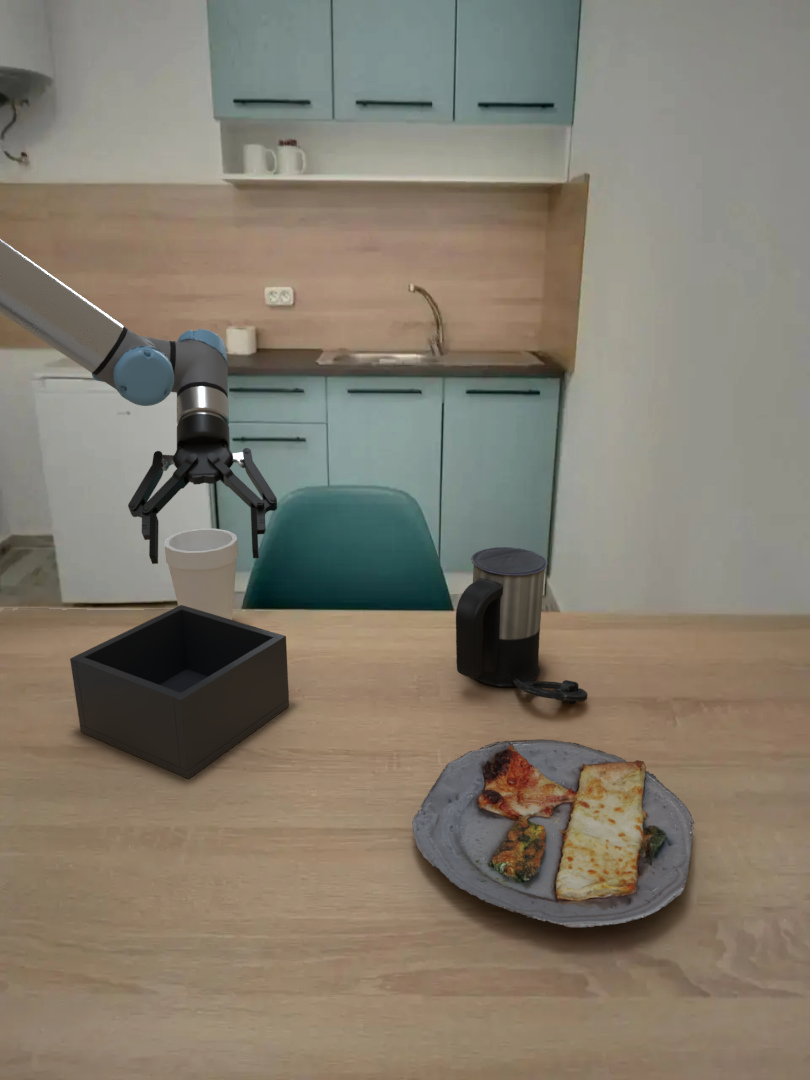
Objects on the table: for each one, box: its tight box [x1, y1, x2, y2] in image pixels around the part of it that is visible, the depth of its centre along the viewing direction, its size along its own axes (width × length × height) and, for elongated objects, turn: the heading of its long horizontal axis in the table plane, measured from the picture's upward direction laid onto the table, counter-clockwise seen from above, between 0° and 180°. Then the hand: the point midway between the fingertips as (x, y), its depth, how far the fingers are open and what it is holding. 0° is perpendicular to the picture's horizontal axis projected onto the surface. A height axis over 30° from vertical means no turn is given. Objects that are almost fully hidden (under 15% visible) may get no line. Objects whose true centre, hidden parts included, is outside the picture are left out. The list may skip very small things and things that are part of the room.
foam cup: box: [163, 528, 239, 620], centre depth 112 cm, size 10×9×13 cm
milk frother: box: [455, 546, 589, 705], centre depth 98 cm, size 14×16×15 cm
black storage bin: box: [69, 605, 290, 780], centre depth 91 cm, size 16×16×9 cm
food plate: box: [412, 738, 695, 929], centre depth 74 cm, size 25×23×4 cm
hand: (205, 557), depth 113 cm, fingers open, 13 cm apart
